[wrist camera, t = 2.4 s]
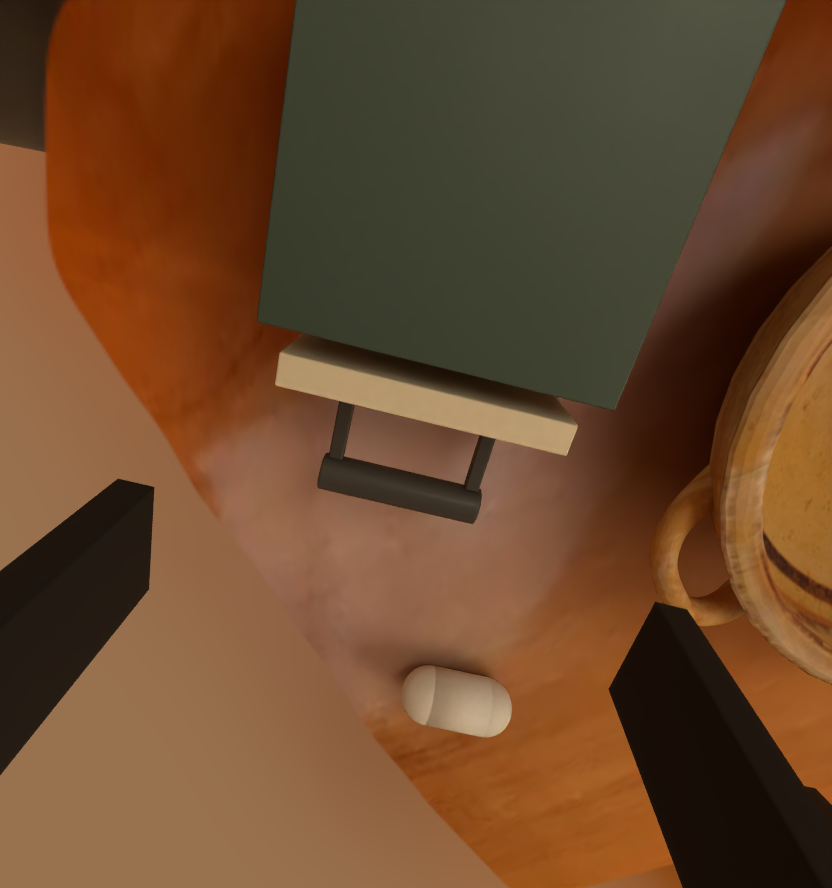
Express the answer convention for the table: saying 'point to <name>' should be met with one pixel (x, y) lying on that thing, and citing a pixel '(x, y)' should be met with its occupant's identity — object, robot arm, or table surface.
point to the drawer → (424, 399)
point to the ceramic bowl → (769, 486)
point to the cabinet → (500, 176)
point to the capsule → (456, 701)
